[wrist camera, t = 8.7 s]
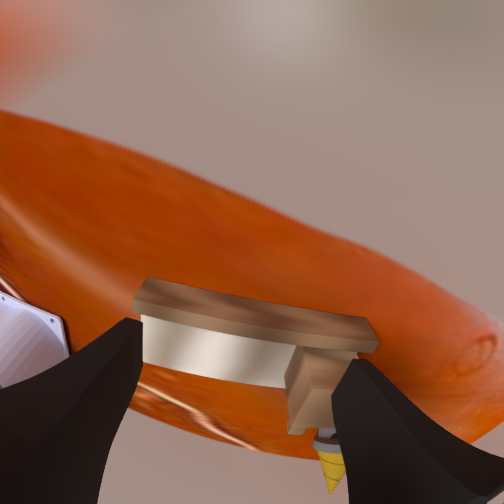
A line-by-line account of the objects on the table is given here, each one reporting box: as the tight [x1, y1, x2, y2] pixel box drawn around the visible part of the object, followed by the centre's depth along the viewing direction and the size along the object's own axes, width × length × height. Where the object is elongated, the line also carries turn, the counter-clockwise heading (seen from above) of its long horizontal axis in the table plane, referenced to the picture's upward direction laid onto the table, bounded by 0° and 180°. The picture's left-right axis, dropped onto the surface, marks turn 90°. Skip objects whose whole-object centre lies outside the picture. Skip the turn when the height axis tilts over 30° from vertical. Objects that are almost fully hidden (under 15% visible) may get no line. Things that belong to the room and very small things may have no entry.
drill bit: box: [313, 428, 346, 494], centre depth 22 cm, size 5×5×10 cm
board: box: [132, 277, 379, 388], centre depth 19 cm, size 16×7×3 cm, turn 77°
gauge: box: [284, 345, 359, 435], centre depth 18 cm, size 4×8×5 cm, turn 167°
